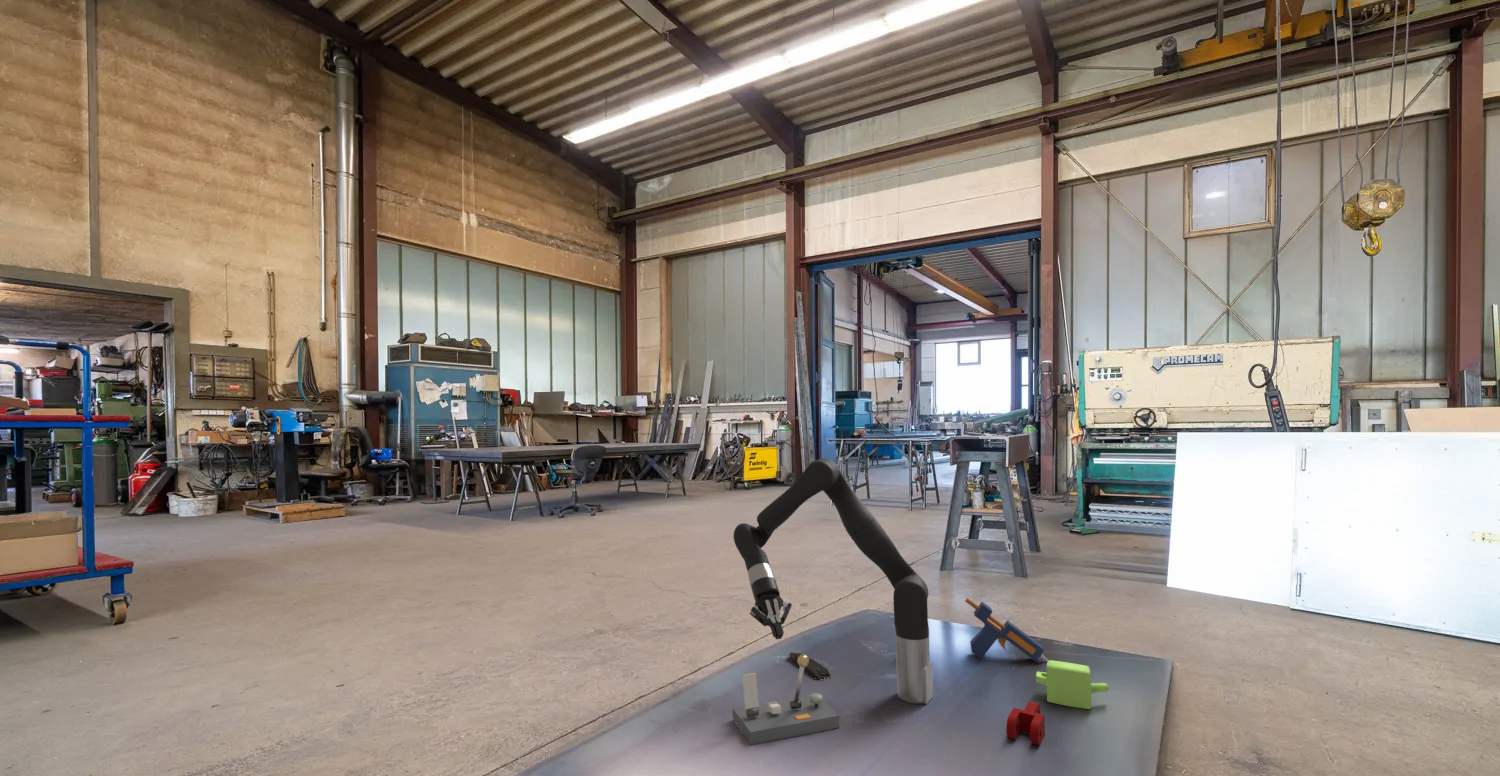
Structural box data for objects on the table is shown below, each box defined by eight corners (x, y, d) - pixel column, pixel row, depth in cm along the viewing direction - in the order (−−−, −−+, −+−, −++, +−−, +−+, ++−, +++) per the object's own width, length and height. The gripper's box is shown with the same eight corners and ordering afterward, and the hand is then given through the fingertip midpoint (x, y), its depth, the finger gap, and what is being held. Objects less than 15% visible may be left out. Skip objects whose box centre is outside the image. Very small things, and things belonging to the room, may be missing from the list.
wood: (839, 678, 195) (839, 668, 195) (818, 682, 192) (818, 672, 192) (804, 655, 215) (804, 646, 215) (784, 659, 212) (784, 649, 212)
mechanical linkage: (1038, 749, 151) (1037, 727, 151) (1006, 740, 155) (1006, 719, 155) (1050, 722, 164) (1050, 702, 164) (1021, 715, 168) (1020, 696, 168)
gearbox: (1108, 701, 177) (1107, 665, 178) (1110, 714, 168) (1109, 676, 169) (1037, 688, 185) (1036, 655, 186) (1035, 700, 176) (1035, 665, 177)
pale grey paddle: (744, 717, 162) (741, 674, 165) (758, 714, 163) (754, 672, 166) (747, 718, 160) (743, 675, 163) (760, 715, 162) (756, 673, 165)
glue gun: (1027, 694, 205) (1055, 658, 203) (945, 633, 210) (972, 598, 209) (1023, 685, 211) (1050, 650, 209) (943, 627, 216) (969, 592, 215)
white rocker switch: (767, 710, 165) (767, 702, 166) (776, 709, 166) (775, 701, 166) (772, 714, 162) (772, 706, 162) (781, 712, 163) (780, 704, 163)
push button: (808, 704, 169) (808, 694, 169) (819, 702, 170) (819, 692, 170) (813, 709, 166) (813, 699, 166) (824, 707, 167) (824, 697, 167)
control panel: (732, 720, 167) (732, 707, 168) (815, 705, 176) (815, 693, 176) (751, 744, 154) (750, 731, 154) (839, 727, 162) (839, 714, 163)
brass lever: (787, 704, 167) (796, 652, 162) (798, 702, 168) (807, 650, 163) (791, 712, 165) (800, 660, 160) (802, 711, 166) (811, 659, 161)
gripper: (744, 577, 184) (760, 633, 172) (786, 573, 189) (805, 627, 177) (739, 592, 189) (754, 647, 177) (780, 587, 193) (797, 641, 181)
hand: (779, 637), depth 177 cm, fingers closed
